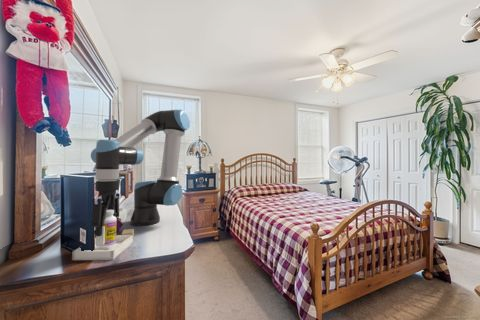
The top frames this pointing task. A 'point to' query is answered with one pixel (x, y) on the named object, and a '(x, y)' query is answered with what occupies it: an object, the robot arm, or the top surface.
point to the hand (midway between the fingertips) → (106, 240)
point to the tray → (104, 250)
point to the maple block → (128, 232)
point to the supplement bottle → (109, 228)
